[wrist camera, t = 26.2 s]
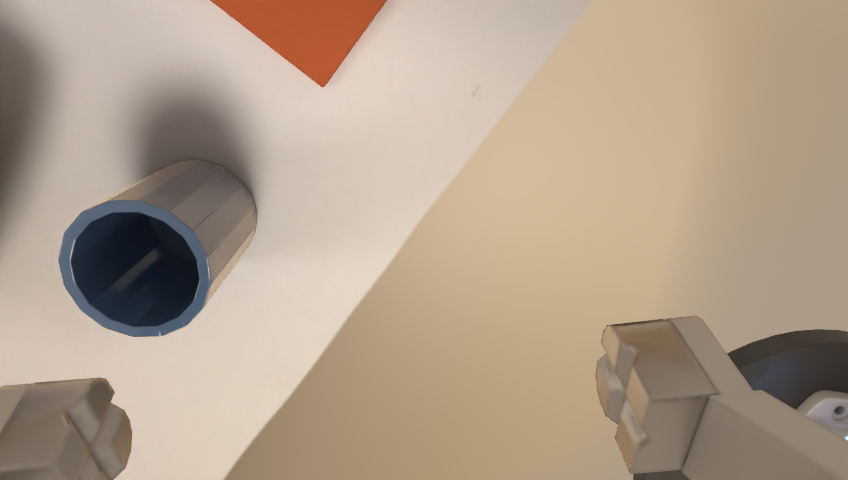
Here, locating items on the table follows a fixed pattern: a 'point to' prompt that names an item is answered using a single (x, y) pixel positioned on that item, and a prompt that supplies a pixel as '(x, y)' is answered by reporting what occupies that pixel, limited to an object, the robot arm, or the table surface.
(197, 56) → the table surface
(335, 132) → the table surface
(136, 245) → the blue cup
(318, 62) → the rust mat
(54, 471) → the robot arm
